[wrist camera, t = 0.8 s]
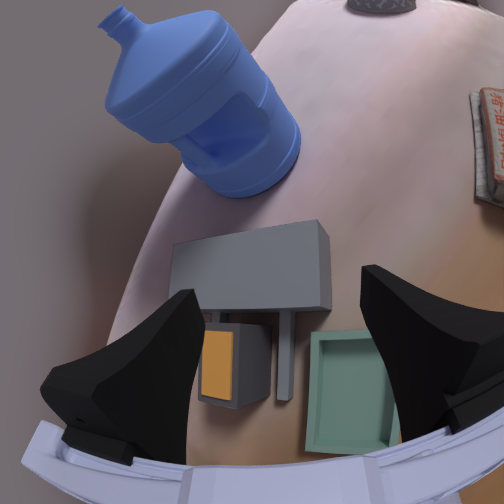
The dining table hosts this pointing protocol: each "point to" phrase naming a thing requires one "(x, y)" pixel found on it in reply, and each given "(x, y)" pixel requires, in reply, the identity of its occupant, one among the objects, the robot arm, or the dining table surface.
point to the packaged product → (489, 144)
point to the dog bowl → (383, 6)
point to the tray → (349, 395)
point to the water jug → (202, 100)
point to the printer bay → (259, 279)
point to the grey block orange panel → (235, 364)
